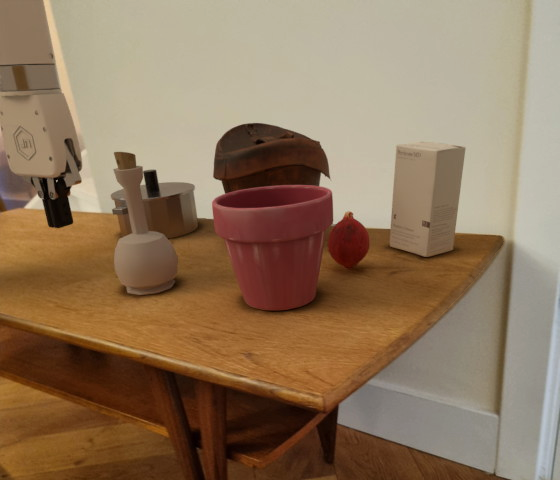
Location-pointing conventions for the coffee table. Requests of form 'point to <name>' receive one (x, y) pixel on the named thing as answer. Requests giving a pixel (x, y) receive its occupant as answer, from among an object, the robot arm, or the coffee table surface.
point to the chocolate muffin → (267, 158)
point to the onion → (348, 241)
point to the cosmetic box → (426, 197)
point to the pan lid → (157, 189)
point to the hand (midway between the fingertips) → (61, 225)
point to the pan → (163, 216)
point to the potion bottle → (141, 239)
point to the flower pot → (275, 241)
